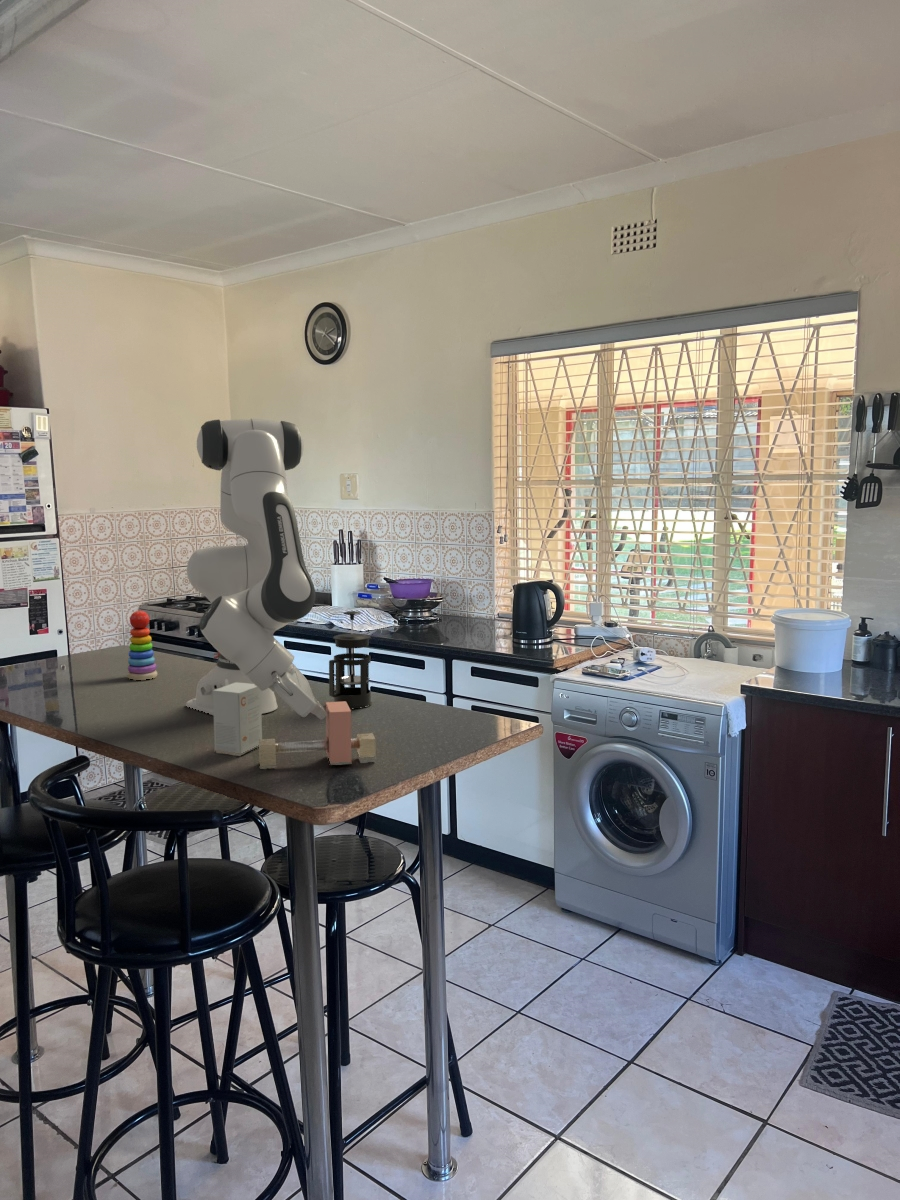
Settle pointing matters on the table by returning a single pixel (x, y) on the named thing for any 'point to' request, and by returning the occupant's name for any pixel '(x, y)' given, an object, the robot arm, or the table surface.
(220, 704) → the small box
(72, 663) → the table surface
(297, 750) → the pipe rig
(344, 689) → the french press
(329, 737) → the collar
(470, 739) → the table surface
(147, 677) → the stacking toy
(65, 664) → the table surface
